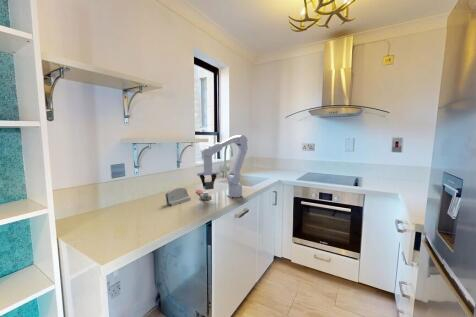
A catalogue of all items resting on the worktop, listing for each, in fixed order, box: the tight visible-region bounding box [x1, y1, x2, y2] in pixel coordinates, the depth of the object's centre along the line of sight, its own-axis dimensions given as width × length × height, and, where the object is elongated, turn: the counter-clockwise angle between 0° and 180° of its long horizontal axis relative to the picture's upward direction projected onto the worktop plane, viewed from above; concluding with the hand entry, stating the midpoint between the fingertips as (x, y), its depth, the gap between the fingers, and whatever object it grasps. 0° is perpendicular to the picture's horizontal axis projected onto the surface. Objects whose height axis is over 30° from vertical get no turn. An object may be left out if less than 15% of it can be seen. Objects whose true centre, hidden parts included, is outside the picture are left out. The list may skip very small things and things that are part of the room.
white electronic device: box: [164, 187, 192, 207], centre depth 139 cm, size 17×5×10 cm, turn 147°
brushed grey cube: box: [202, 179, 215, 191], centre depth 143 cm, size 6×6×5 cm
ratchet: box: [195, 189, 212, 201], centre depth 153 cm, size 8×25×5 cm, turn 24°
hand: (208, 185), depth 143 cm, fingers closed on brushed grey cube, 6 cm apart
